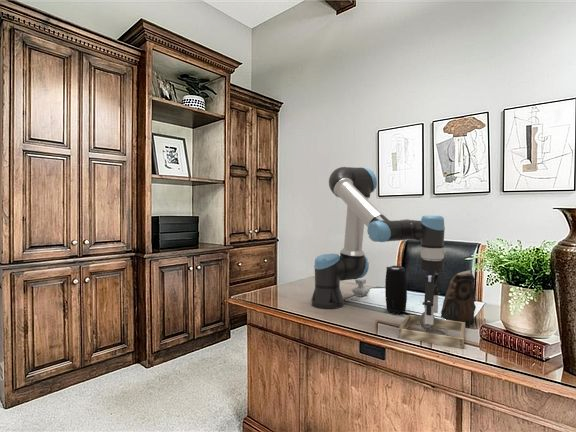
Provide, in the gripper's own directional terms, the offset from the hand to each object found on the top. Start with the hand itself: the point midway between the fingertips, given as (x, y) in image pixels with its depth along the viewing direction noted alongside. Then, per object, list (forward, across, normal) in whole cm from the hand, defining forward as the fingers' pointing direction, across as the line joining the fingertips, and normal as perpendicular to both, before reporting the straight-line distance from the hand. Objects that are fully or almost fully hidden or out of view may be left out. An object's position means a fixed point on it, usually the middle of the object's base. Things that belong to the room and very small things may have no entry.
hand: (431, 318), depth 120 cm
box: (+6, 0, 0) cm, 6 cm away
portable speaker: (+6, +20, +16) cm, 27 cm away
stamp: (+7, +40, +38) cm, 56 cm away
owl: (+6, +20, -8) cm, 22 cm away
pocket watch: (+6, 0, 0) cm, 6 cm away
